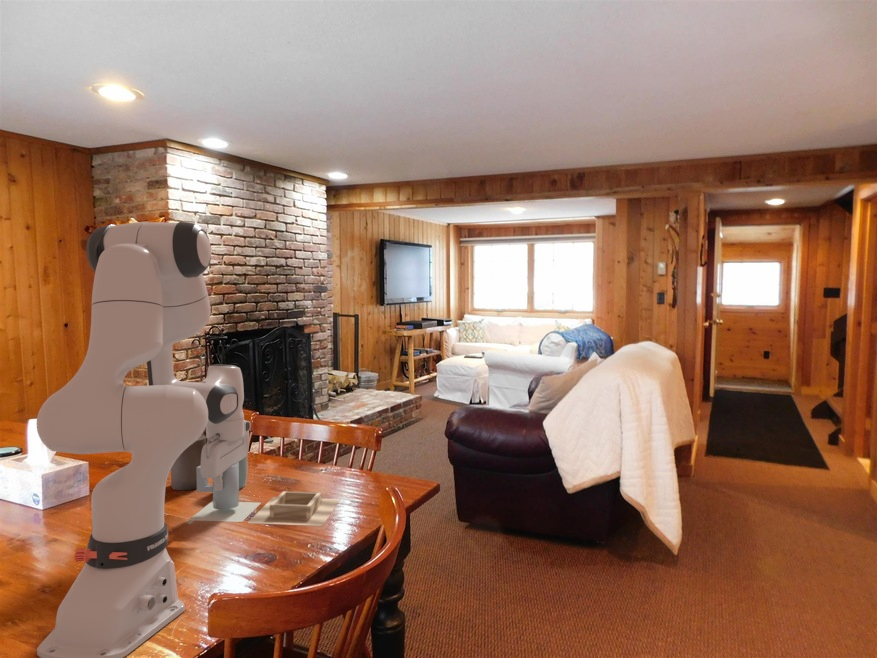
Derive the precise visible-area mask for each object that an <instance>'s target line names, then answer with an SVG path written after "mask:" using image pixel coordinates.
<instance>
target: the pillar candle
mask: <svg viewBox="0 0 877 658" xmlns="http://www.w3.org/2000/svg"><path fill="white" fill-rule="evenodd" d="M206 443H207V438H206V434H202V435H201V436H200V437H199V438H198V440H196V441H195V442H194V443H193V444H191V445H190V446H189V447H188V448H187V449H185V450H184V451H183V452H182V453H181V455H180V456H179V457H178V458H177V460H176V461H175V463H174V465H173V466H172V468H171V470H170V482H171V483H170V486H171V488H172V489H173V490H175V491H191V490H197V470H196V468H197V467H198V466H201V453H202V448H203V446H204V445H205V444H206Z"/></svg>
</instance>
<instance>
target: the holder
mask: <svg viewBox="0 0 877 658" xmlns="http://www.w3.org/2000/svg"><path fill="white" fill-rule="evenodd" d="M340 500H341V498H323V497H322V492H320V491H319V492H316V491H315V492H314V491H285V490H284V491H283V490H282V492H281V493H279V494H278V496H272V498H270V500H269V501H268V502H266V504H264V505H263V506H262V508H261V509H259V511H257V512H256V513H255V515H254V516H253V517H251V518H250V520H249V521H247V524H252V525H253V524H254V525H255V524H256V525H257V524H259V525H283V526H288V525H289V526H313V527H315V526H317V527H319V526H320V527H323V526H324V525H325V523H327V520H328V519H329V517H330V515H331V514H332V513H333V511H334V509H335V508H336V507H337V505H338V504H339V502H341V501H340Z"/></svg>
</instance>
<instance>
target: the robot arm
mask: <svg viewBox="0 0 877 658" xmlns="http://www.w3.org/2000/svg"><path fill="white" fill-rule="evenodd" d="M85 245H86V247H85V252H86V259H87V262H88V264H89V266H90V268H91V270H92V271H93V272H94V279H93V283H92V291H91V292H92V293H91V316H90V317H91V319H90V331H89V338H88V339H89V341H88V348H87V352H86V355H85V358H84V359H83V362H82V364H81V366H80V367H79V369H78V371H77V372H76V373H75V374H74V375H73V377H72V378H71V379H70V380H69V381H68V382H67V383H66V384H65V385H64V386H62V387H61V388H60V389H59V390H57V391H56V392H54V393H53V394H51V395H50V396H49V397H48V398H47V399H46V400H45V401H44V402H43V404H42V405H41V407H40V408H39V410H38V413H37V415H36V431H37V434H38V437H39V439H40V441H41V442H42V444H43V445H44V446H45V447H46V448H47V449H48V450H50V451H51V452H56V453H57V452H58V453H65V454H66V453H67V454H74V455H92V454H105V453H106V454H107V453H118V452H119V453H120V452H126V453H127V452H128V453H130V454H131V461H130V462H129V463H128V464H126V465H125V466H123V467H121V468H118V469H117V470H114V471H113V472H110V473H109V474H108V475H106V476H105V477H103V478H102V479H101V480H100V481H98V482H97V483H96V485H95V486H94V488H93V490H92V493H91V497H90V498H91V500H90V501H91V505H90V506H91V534H90V536H89V538H88V543H87V546H86V548H81V547H80V548H77V549H76V550H75V553H74V556H73V558H74V559H73V560H74V561H75V562H79V563H80V562H84V565H83V567H82V569H81V570H80V572H79V574H78V575H77V576H76V578H75V580H74V582H73V584H71V586H70V588H69V590H68V591H67V593H66V595H65V596H64V598H63V600H62V601H61V603H60V604H59V607H58V608H57V610H56V617H55V618H56V619H55V627H54V628H53V629H52V631H51V632H50V633H49V634H47V636H46V638H44V639H43V641H42V642H41V643H40V644H39V645H38V647H37V648H36V655H37V656H38V657H39V658H125V657H127V655H129V654H130V653H132V652H133V651H134V650H135V649H137V648H138V647H139V646H141V645H142V644H143V643H144V642H146V641H147V640H148V639H149V638H151V637H152V636H154V635H155V634H157V633H158V632H159V631H160V630H161V629H163V628H164V627H166V626H167V625H168V624H169V623H171V622H172V621H173V620H175V619H176V618H177V617H178V616H180V615H181V614H182V613H183V612H184V611H186V607H185V603H184V601H182V600H180V599H179V594H178V588H177V586H178V585H177V576H176V567H175V563H174V561H173V560H172V558H171V556H170V555H169V553H168V550H167V547H168V542H169V540H168V539H169V530H168V524H167V522H166V521H165V500H166V498H165V497H166V488H167V487H166V486H167V482H168V478H169V476H170V474H171V468H172V466H173V465H174V463H175V461H176V460H177V458H178V457H179V456H180V455H181V453H182V452H183V451H184V450H185V449H187V448H188V447H189V446H190V445H191V444H193V443H194V442H195V441H196V440H198V438H199V437H200V436H201V435H203V433H204V431H205V436H206V444H205V445H204V446H203V448H202V453H201V467H200V473H201V476H202V477H203V478H207V479H212V483H213V482H214V484H215V490H216V491H221V490H222V489H224V482H223V481H222V476H223V472H225V471H226V470H227V469H228V468H230V467H231V466H233V465H234V464H236V463H238V466H239V461H240V460H242V459H243V458H245V457H246V456H247V457H248V454H249V449H250V448H249V446H250V432H249V431H250V430H251V428H252V427H251V426H252V425H251V421H249V420H245V414H244V411H243V404H244V401H245V392H244V391H245V390H244V378H243V372H242V370H241V368H240V367H238V366H237V365H234V364H220V363H219V364H218V363H216V364H215V363H214V364H211V365H209V366H208V368H207V371H206V377H205V378H203V380H202V381H200V382H198V381H197V382H196V381H181V380H179V379H177V377H176V376H175V373H174V359H173V357H174V356H173V346H174V344H177V343H179V342H182V341H185V340H188V339H189V338H191V337H193V336H195V335H197V334H198V333H199V332H200V331H202V330H203V329H204V328H205V327H206V326H207V324H208V323H209V321H210V318H211V313H212V312H211V309H212V308H211V303H210V298H209V293H208V288H207V286H206V281H205V277H204V274H203V273H205V271H206V270H207V269H208V268H209V266H210V264H211V260H212V247H211V243H210V239H209V236H208V233H207V232H206V231H205V229H203V227H201V226H199V224H198V223H193V222H188V221H179V222H165V221H164V222H163V221H157V222H155V221H153V222H151V221H137V222H136V221H135V222H129V223H122V224H121V223H120V224H118V225H117V224H108V225H103V226H100V227H97V228H95V229H94V230H93V231H92V233H91V234H90V235H89V237H88V238H87V241H86V244H85ZM144 364H146V368H147V382H148V385H131V386H130V385H129V386H127V385H124V380H125V377H126V376H127V374H128V373H129V372H130V371H132V370H133V369H135V368H138V367H140V366H141V365H144Z"/></svg>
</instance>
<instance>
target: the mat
mask: <svg viewBox="0 0 877 658" xmlns="http://www.w3.org/2000/svg"><path fill="white" fill-rule="evenodd" d="M261 504H262V502H258V501H257V502H256V501H255V502H253V501H251V502H250V501H239V505H238V506H237V507H235V508H232V509H226V510H218V509H214V508H213V500H212V501H210V502H209V503H208V504H206V505H205V506H204V507H203V508H202V509H200V510H199V511H197V513H195V514H194V515H193V516H192V517H190V518H189V519H188V520H187V525H191V524H192V523H193V522H195V521H197V522H199V521H200V522H226V523H227V522H228V523H243V522H244V521H245V520H246V518H247V517H248V516H250V515H251V514H252V513H253V512H254V511H255V510H256V509H257V508H258V507H259V506H260V505H261Z"/></svg>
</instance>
